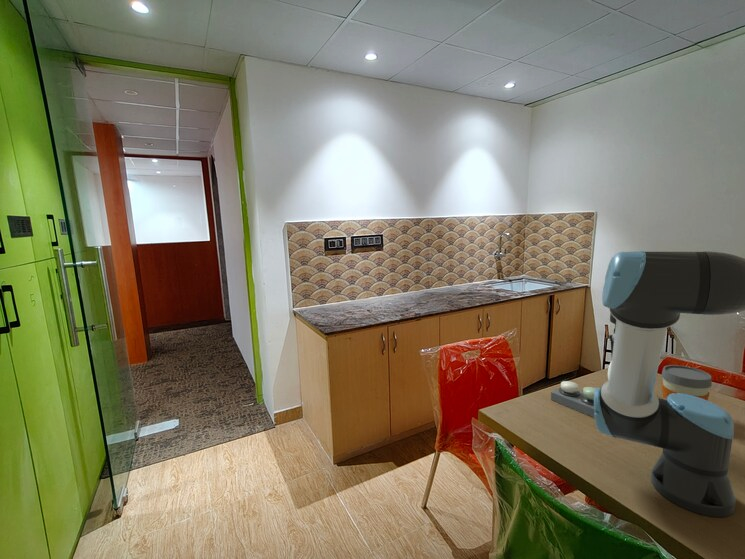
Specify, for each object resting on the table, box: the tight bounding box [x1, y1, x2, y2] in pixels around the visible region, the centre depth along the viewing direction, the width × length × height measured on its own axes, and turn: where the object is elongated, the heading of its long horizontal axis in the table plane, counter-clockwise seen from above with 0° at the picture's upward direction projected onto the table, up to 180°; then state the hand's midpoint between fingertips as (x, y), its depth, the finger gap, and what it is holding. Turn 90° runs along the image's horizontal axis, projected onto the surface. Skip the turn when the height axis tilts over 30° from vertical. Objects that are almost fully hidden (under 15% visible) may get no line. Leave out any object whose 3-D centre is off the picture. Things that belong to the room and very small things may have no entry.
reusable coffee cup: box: [661, 364, 713, 401], centre depth 118 cm, size 13×13×15 cm
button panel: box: [550, 387, 595, 419], centre depth 123 cm, size 10×24×4 cm, turn 32°
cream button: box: [560, 380, 579, 393], centre depth 130 cm, size 6×6×2 cm
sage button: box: [582, 386, 596, 400], centre depth 123 cm, size 6×6×2 cm
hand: (619, 380), depth 115 cm, fingers closed
